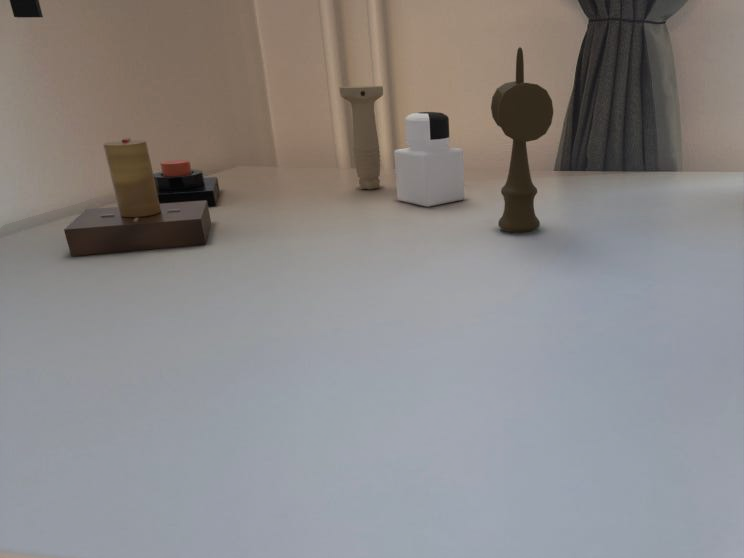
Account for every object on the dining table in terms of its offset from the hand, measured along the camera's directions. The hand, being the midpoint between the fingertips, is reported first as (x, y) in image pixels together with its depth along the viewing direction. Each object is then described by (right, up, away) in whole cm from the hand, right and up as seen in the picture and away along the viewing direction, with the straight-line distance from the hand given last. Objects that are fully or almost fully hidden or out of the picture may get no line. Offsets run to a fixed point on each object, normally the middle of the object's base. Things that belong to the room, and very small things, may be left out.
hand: (28, 16), depth 81 cm
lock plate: (+14, -27, 0) cm, 30 cm away
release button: (+10, -14, +19) cm, 25 cm away
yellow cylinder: (+14, -24, -2) cm, 28 cm away
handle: (+37, -14, +27) cm, 47 cm away
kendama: (+59, -26, 0) cm, 64 cm away
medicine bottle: (+47, -18, +17) cm, 53 cm away
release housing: (+10, -17, +20) cm, 28 cm away
